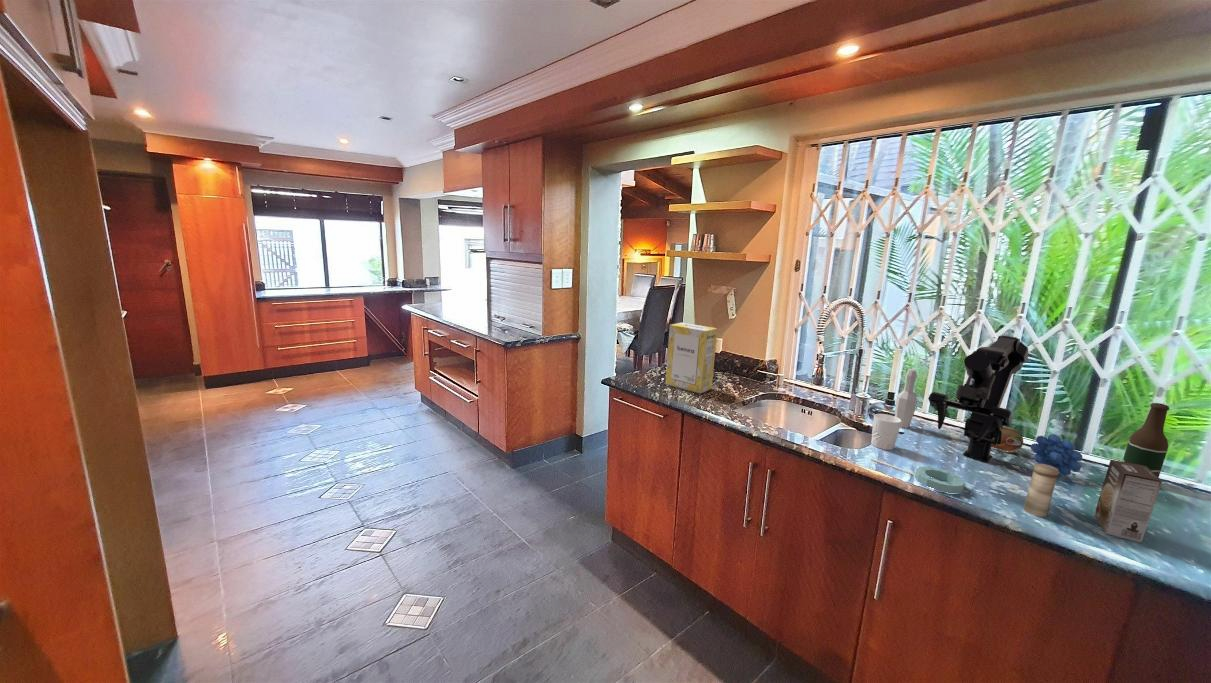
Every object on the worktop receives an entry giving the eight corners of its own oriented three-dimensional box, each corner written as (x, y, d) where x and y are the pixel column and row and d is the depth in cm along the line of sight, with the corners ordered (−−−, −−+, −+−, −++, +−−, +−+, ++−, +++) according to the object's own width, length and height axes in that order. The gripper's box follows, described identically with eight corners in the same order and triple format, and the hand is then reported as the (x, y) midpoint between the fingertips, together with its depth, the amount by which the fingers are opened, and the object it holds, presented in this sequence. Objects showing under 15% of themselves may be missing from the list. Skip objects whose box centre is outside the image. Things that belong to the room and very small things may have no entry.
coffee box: (1091, 516, 117) (1109, 458, 114) (1127, 524, 114) (1146, 465, 111) (1105, 534, 110) (1124, 472, 106) (1144, 544, 106) (1164, 481, 103)
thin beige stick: (872, 459, 144) (872, 458, 144) (915, 475, 135) (916, 473, 135) (871, 460, 143) (871, 459, 143) (914, 476, 134) (915, 474, 134)
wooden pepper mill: (1025, 505, 121) (1036, 461, 118) (1048, 513, 118) (1060, 468, 115) (1021, 510, 118) (1033, 466, 116) (1045, 519, 115) (1057, 473, 112)
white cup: (900, 452, 150) (905, 423, 148) (874, 449, 152) (879, 420, 150) (890, 442, 158) (895, 415, 156) (865, 439, 159) (870, 412, 157)
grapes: (1024, 469, 142) (1033, 433, 139) (1026, 463, 146) (1035, 428, 144) (1077, 484, 134) (1088, 446, 131) (1077, 477, 138) (1088, 440, 136)
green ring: (922, 470, 138) (924, 463, 137) (967, 486, 130) (969, 478, 129) (909, 481, 131) (911, 473, 131) (956, 498, 123) (958, 490, 122)
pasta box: (665, 384, 213) (669, 324, 207) (677, 379, 221) (681, 322, 215) (700, 393, 201) (706, 331, 195) (711, 388, 209) (717, 328, 203)
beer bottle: (1143, 476, 141) (1167, 402, 136) (1164, 488, 134) (1189, 410, 129) (1111, 471, 144) (1133, 398, 138) (1129, 482, 136) (1153, 406, 131)
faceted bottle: (891, 426, 173) (902, 369, 169) (892, 421, 178) (902, 366, 174) (911, 430, 170) (922, 373, 165) (911, 425, 175) (922, 369, 170)
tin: (963, 441, 162) (968, 418, 160) (965, 438, 164) (970, 416, 163) (1019, 456, 151) (1025, 432, 149) (1021, 454, 153) (1027, 430, 151)
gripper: (935, 366, 135) (915, 411, 132) (1017, 382, 121) (997, 434, 118) (941, 383, 142) (922, 427, 139) (1020, 401, 127) (1000, 450, 124)
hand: (957, 434), depth 130 cm, fingers open, 9 cm apart
